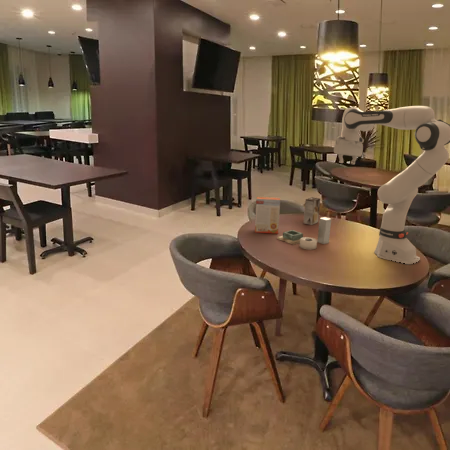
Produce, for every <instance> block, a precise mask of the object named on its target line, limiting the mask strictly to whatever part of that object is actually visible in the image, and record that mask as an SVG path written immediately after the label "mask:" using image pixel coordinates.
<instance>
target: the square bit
mask: <svg viewBox="0 0 450 450" xmlns="http://www.w3.org/2000/svg"><path fill="white" fill-rule="evenodd" d="M331 224H332V218H330V217H326V216H324V217H319V219H318V229H317V230H318V233H317V239H316V240H317V244H318V243H319V244H322V245H326V244H329V242H330V235H331V234H330V233H331V228H332V227H331Z"/></svg>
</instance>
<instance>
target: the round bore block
mask: <svg viewBox="0 0 450 450" xmlns="http://www.w3.org/2000/svg"><path fill="white" fill-rule="evenodd" d="M317 240H318V239H317V238H314V237H308V236H303V238H301V239H300V243H299V248H300V249H302V250H308V251H313V250H316V249H317V245H318V242H317Z"/></svg>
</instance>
